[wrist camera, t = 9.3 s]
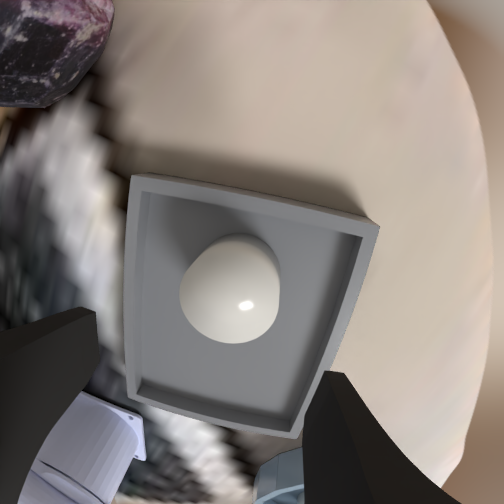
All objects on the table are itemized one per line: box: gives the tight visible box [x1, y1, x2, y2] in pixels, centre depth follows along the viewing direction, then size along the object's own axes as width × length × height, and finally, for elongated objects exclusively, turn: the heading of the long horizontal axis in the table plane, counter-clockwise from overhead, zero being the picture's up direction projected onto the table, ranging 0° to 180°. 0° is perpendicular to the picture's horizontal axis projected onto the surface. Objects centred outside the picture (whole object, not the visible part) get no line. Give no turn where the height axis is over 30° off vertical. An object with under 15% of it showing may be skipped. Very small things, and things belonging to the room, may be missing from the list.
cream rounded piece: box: [179, 233, 281, 344], centre depth 15 cm, size 4×4×3 cm
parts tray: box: [123, 173, 380, 439], centre depth 17 cm, size 12×15×2 cm
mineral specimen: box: [0, 0, 115, 108], centre depth 10 cm, size 10×10×10 cm
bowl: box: [251, 447, 304, 504], centre depth 21 cm, size 14×14×4 cm
